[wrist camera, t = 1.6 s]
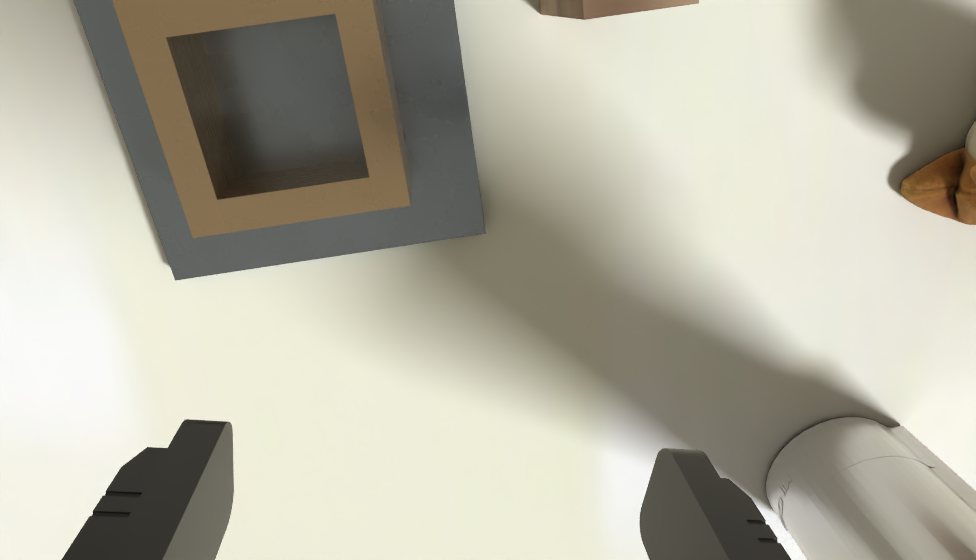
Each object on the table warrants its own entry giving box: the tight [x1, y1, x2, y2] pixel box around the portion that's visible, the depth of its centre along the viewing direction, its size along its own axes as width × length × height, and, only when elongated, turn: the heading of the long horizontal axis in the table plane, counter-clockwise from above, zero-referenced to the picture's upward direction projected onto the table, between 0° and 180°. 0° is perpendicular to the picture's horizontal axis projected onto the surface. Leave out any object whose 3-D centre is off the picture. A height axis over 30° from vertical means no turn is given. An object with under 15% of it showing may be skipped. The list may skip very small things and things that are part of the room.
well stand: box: [74, 0, 486, 280], centre depth 28 cm, size 16×16×5 cm
